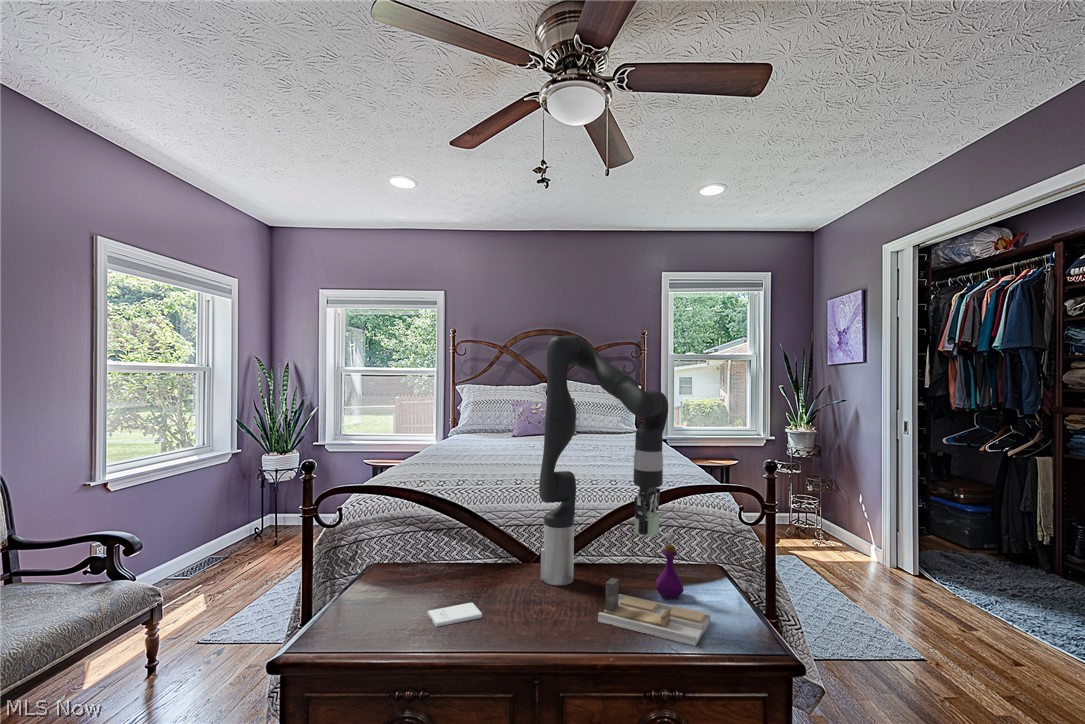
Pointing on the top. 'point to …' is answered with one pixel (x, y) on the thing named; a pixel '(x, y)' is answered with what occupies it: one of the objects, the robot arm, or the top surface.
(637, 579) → the top surface
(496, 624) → the top surface
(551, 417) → the robot arm
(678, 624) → the lane board
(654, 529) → the block
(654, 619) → the tan slider with post
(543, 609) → the top surface
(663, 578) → the perfume bottle
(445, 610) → the external hard drive
